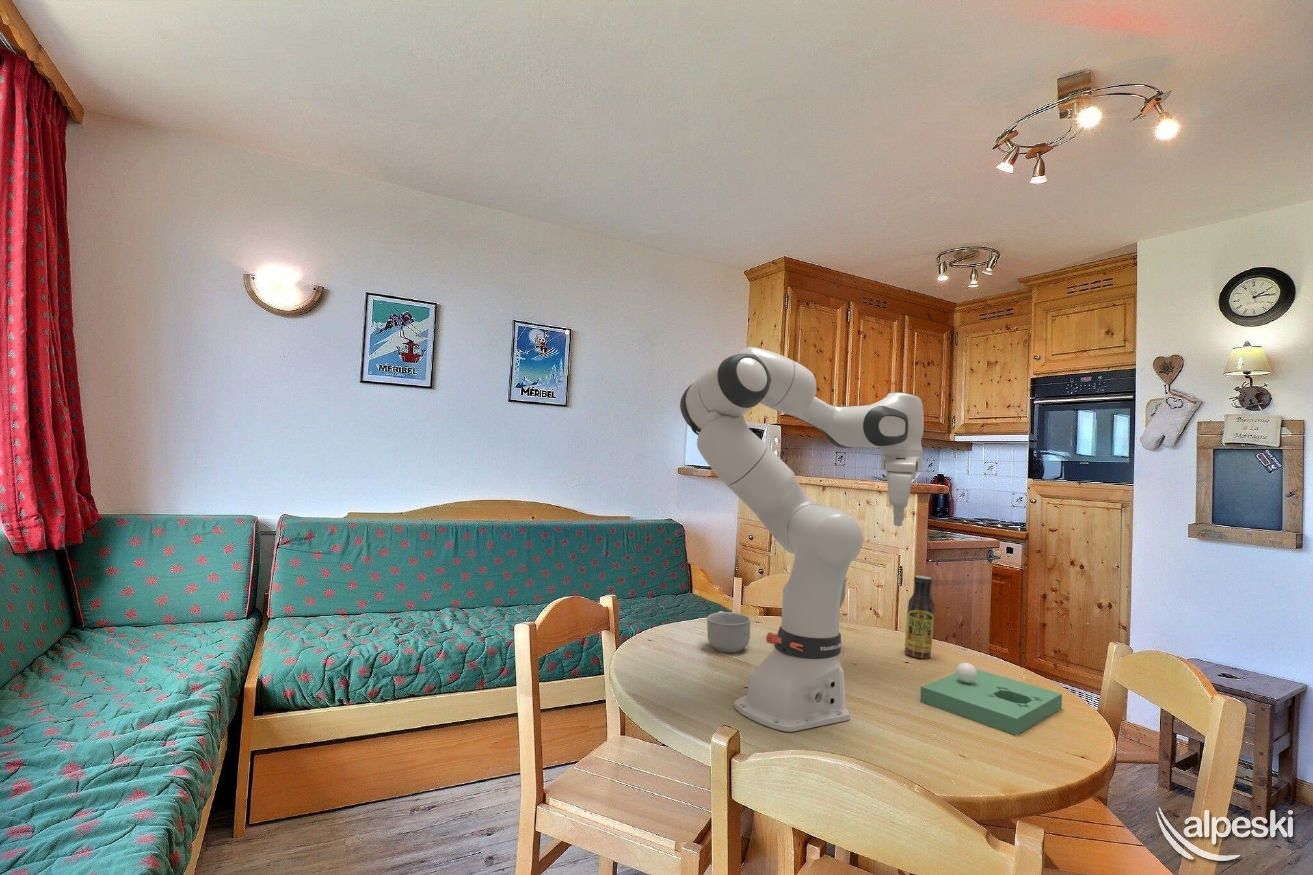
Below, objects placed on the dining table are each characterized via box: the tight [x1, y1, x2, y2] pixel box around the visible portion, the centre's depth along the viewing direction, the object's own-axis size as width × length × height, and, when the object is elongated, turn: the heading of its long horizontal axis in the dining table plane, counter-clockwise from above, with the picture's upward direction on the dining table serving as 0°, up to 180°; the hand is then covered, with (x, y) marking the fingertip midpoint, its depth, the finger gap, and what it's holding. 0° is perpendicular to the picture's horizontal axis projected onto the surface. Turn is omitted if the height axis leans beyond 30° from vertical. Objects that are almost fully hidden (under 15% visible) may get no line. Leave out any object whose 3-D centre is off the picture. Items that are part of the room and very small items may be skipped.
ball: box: [955, 662, 977, 683], centre depth 129 cm, size 4×4×4 cm
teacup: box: [706, 610, 752, 653], centre depth 155 cm, size 14×11×8 cm
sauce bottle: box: [904, 575, 935, 660], centre depth 156 cm, size 6×6×20 cm
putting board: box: [919, 668, 1063, 736], centre depth 125 cm, size 22×18×3 cm
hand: (898, 523), depth 142 cm, fingers open, 8 cm apart
